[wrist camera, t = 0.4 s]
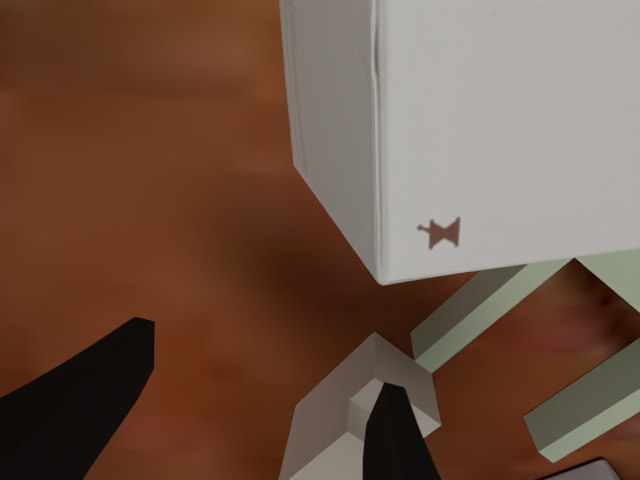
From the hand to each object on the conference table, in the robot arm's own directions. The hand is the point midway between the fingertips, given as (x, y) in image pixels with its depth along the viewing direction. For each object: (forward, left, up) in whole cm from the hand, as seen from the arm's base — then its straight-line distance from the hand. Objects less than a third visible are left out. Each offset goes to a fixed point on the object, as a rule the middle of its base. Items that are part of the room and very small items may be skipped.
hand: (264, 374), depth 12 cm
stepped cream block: (-6, -9, -11) cm, 15 cm away
